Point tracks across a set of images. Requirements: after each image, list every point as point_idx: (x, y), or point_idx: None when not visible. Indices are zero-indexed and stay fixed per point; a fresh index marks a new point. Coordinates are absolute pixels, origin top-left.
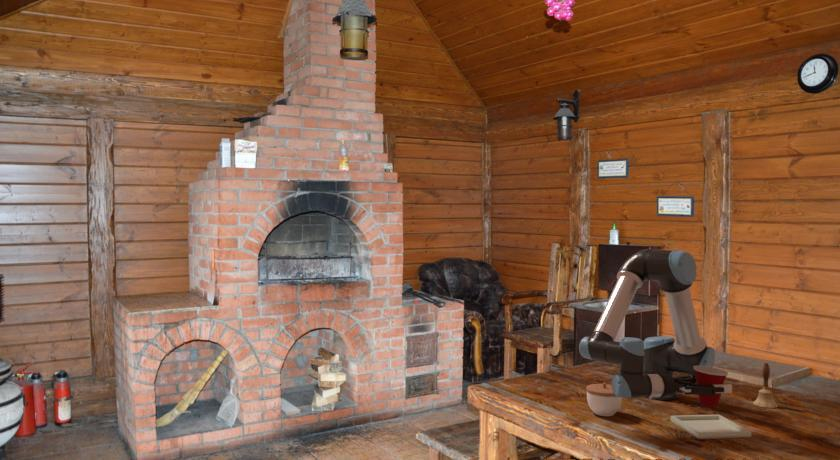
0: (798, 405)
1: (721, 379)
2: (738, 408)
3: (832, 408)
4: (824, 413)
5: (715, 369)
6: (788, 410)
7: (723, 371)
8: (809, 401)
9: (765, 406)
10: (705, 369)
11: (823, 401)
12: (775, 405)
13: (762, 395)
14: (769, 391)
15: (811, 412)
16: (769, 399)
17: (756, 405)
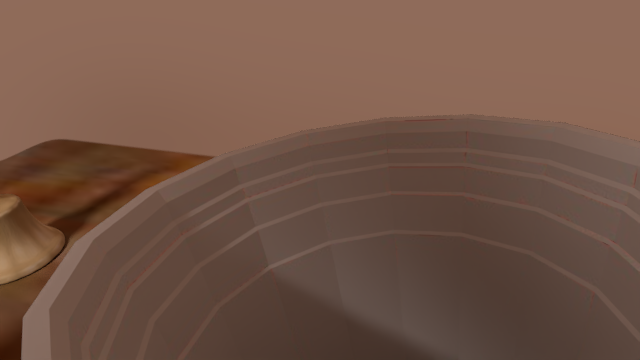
0: (63, 189)
1: (568, 225)
2: (10, 352)
3: (116, 145)
4: (154, 160)
5: (198, 192)
6: (102, 215)
7: (310, 146)
8: (40, 167)
9: (47, 257)
10: (118, 300)
11: (54, 149)
12: (56, 230)
13: (4, 228)
14: (10, 197)
15: (138, 177)
16: (33, 224)
17: (11, 281)
